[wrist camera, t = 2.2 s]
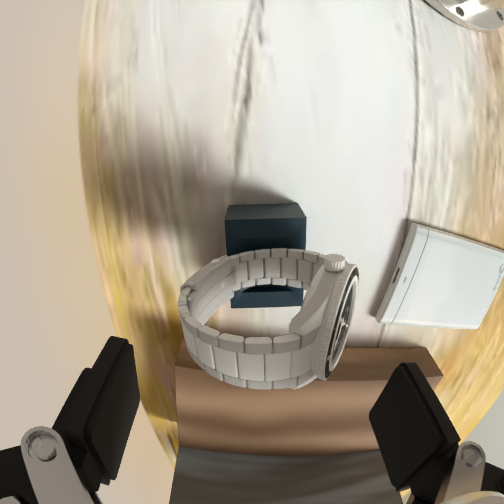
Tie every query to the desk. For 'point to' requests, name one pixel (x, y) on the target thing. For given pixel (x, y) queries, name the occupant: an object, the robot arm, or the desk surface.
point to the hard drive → (441, 281)
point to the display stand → (287, 434)
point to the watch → (270, 301)
